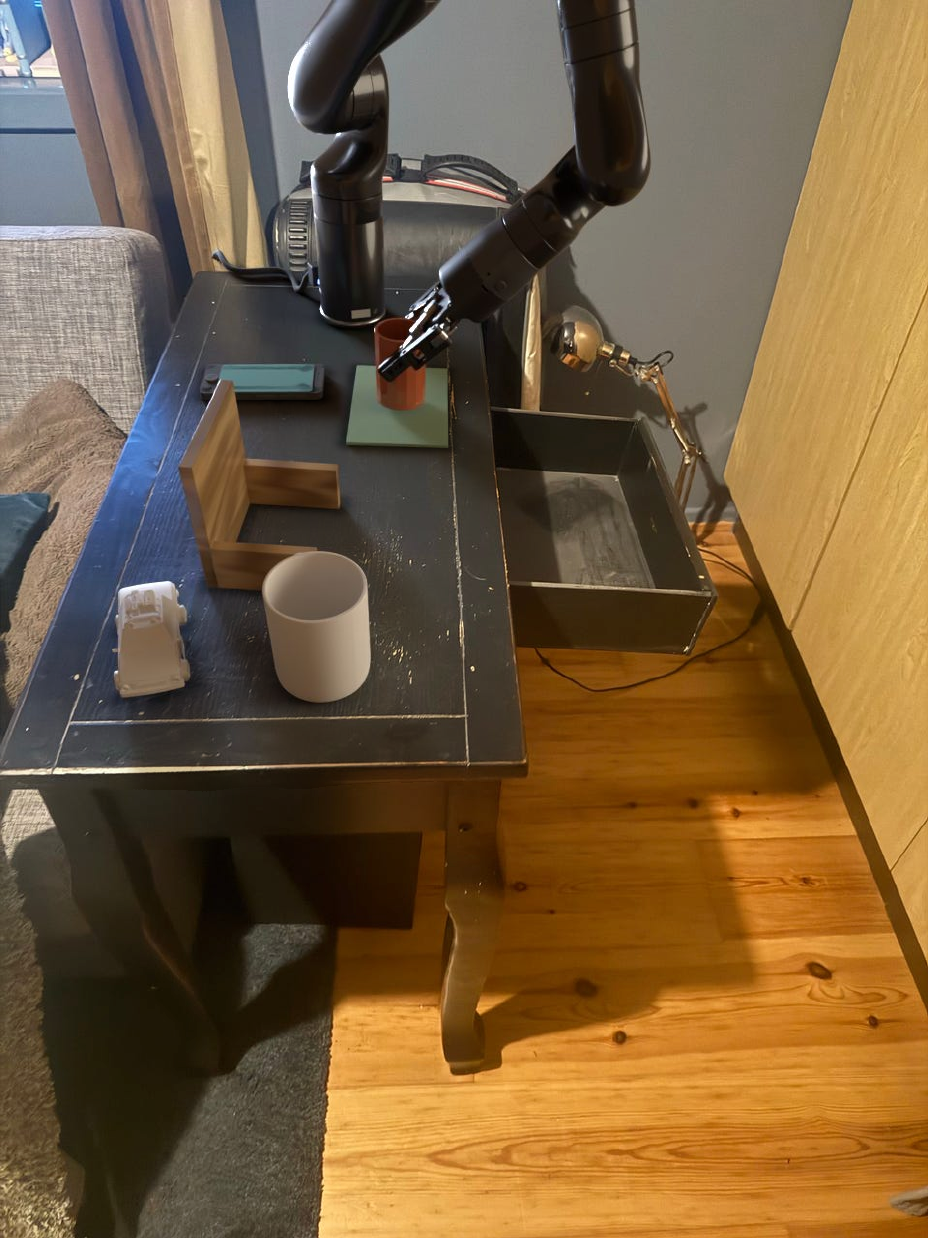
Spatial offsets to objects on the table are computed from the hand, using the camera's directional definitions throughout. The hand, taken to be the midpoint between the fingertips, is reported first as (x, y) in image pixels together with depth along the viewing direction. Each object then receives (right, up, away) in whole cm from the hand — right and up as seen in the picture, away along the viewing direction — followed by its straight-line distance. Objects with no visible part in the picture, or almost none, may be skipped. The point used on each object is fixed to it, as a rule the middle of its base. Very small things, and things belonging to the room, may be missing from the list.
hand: (386, 361), depth 99 cm
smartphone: (-16, -1, +6) cm, 17 cm away
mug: (-4, -34, -25) cm, 43 cm away
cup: (+1, -3, +3) cm, 5 cm away
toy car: (-18, -34, -26) cm, 47 cm away
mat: (+1, -4, +4) cm, 6 cm away
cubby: (-9, -23, -15) cm, 29 cm away
